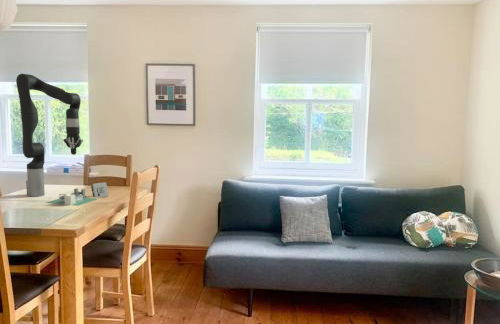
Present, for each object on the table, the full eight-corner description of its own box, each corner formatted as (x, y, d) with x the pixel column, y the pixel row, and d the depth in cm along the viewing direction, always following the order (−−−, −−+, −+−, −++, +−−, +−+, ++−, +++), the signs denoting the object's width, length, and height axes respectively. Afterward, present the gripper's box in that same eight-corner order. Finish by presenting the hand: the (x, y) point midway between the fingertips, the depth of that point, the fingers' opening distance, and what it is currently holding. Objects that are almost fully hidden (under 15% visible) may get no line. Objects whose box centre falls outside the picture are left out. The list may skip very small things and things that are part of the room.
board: (44, 204, 229) (44, 192, 228) (67, 198, 247) (67, 187, 246) (78, 207, 223) (77, 195, 222) (99, 200, 242) (98, 189, 241)
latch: (58, 203, 226) (58, 194, 226) (63, 202, 230) (63, 192, 229) (70, 205, 224) (70, 195, 224) (75, 203, 228) (75, 193, 228)
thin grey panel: (78, 193, 242) (78, 191, 242) (82, 193, 241) (82, 191, 241) (59, 198, 226) (59, 196, 226) (64, 199, 226) (64, 197, 225)
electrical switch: (95, 199, 247) (94, 184, 246) (90, 198, 250) (89, 183, 249) (108, 196, 254) (107, 182, 253) (104, 196, 257) (103, 182, 257)
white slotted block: (60, 201, 231) (59, 196, 231) (70, 198, 240) (70, 193, 240) (73, 203, 229) (73, 197, 229) (83, 199, 238) (83, 194, 237)
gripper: (59, 126, 242) (60, 154, 244) (78, 126, 239) (79, 155, 241) (67, 125, 249) (68, 153, 251) (86, 126, 246) (87, 154, 248)
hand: (73, 154), depth 246 cm, fingers closed
